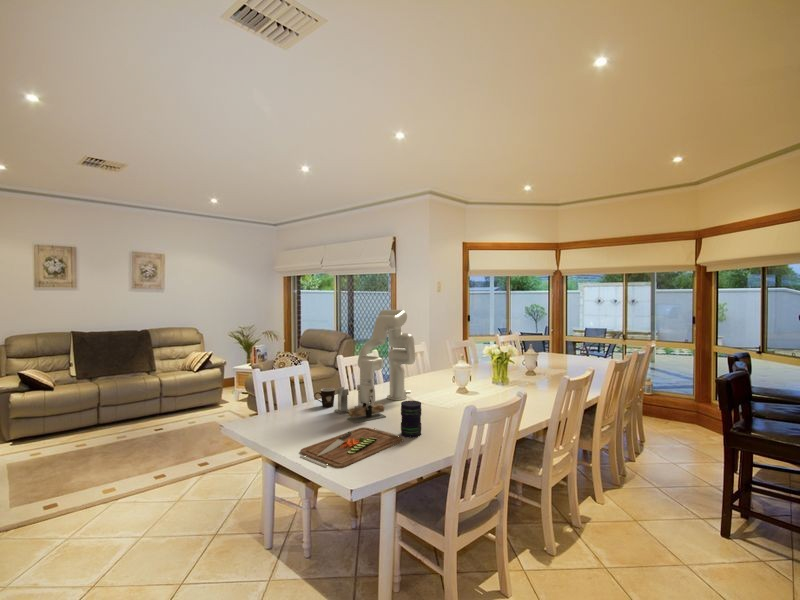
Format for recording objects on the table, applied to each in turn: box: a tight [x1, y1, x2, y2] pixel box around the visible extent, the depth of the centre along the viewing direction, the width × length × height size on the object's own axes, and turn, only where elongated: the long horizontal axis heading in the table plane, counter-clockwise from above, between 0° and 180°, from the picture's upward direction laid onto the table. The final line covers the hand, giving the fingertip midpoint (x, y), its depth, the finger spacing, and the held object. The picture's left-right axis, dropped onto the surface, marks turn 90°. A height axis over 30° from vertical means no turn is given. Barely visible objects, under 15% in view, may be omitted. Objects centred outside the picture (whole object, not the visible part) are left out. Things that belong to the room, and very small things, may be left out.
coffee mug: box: [313, 387, 336, 409], centre depth 244 cm, size 12×9×10 cm
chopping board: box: [299, 427, 404, 469], centre depth 180 cm, size 45×27×3 cm, turn 141°
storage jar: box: [400, 400, 422, 439], centre depth 195 cm, size 10×10×15 cm
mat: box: [346, 412, 387, 424], centre depth 221 cm, size 19×9×1 cm, turn 124°
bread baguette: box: [348, 403, 385, 418], centre depth 221 cm, size 20×4×4 cm, turn 124°
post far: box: [354, 384, 362, 408], centre depth 240 cm, size 7×7×13 cm
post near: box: [334, 386, 350, 415], centre depth 232 cm, size 7×7×13 cm
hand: (366, 415), depth 221 cm, fingers closed on bread baguette, 3 cm apart
